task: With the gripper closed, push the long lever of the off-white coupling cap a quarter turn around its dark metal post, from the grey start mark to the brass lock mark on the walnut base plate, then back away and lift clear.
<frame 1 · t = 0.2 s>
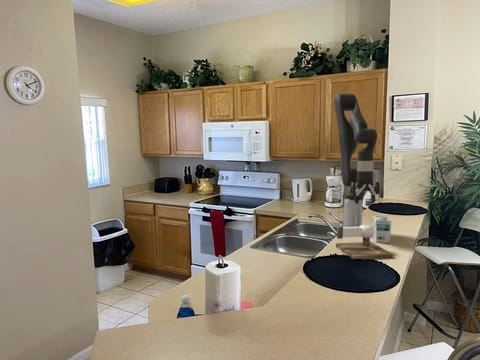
hand: (364, 203, 170), 18 cm above the worktop, tool pointing down, fingers open, 8 cm apart
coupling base: (362, 251, 151), on the worktop
light bulb box: (380, 240, 169), on the worktop
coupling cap: (355, 231, 154), point 8 cm above the worktop, hinge at 0.0°
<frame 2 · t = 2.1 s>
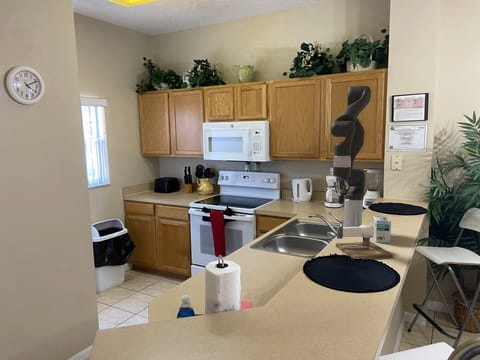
hand: (341, 203, 158), 20 cm above the worktop, tool pointing down, fingers closed
nothing on the worktop moved.
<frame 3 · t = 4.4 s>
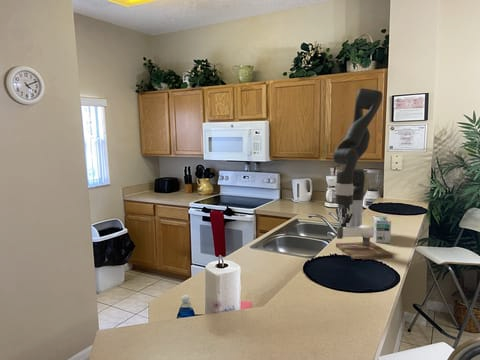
hand: (343, 231, 156), 8 cm above the worktop, tool pointing down, fingers closed
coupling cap: (355, 231, 154), point 8 cm above the worktop, hinge at 0.3°, touching gripper
everything else where it was.
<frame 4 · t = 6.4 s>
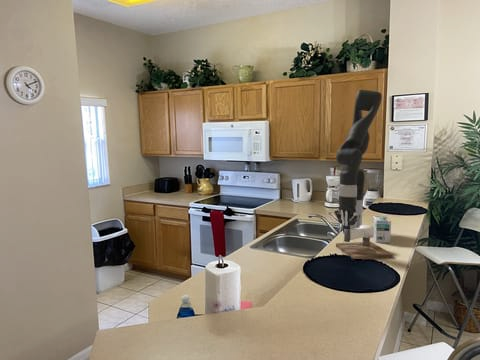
hand: (346, 233, 152), 8 cm above the worktop, tool pointing down, fingers closed
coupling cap: (358, 233, 152), point 8 cm above the worktop, hinge at 24.0°, touching gripper
everything else where it was.
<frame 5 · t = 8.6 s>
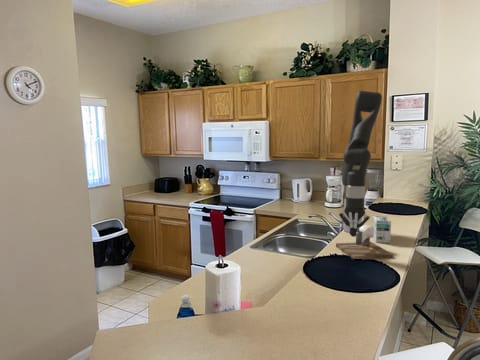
hand: (353, 236, 148), 8 cm above the worktop, tool pointing down, fingers closed
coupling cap: (363, 234, 150), point 8 cm above the worktop, hinge at 48.9°, touching gripper
everything else where it was.
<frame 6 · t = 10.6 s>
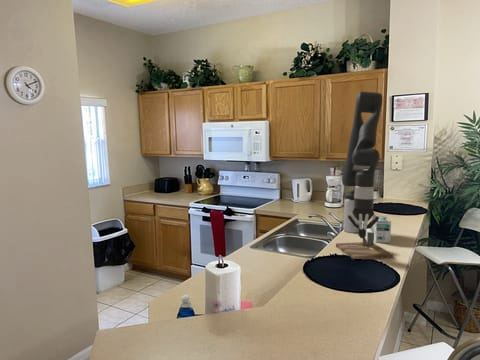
hand: (362, 237, 146), 8 cm above the worktop, tool pointing down, fingers closed
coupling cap: (368, 234, 149), point 8 cm above the worktop, hinge at 69.9°, touching gripper
everything else where it was.
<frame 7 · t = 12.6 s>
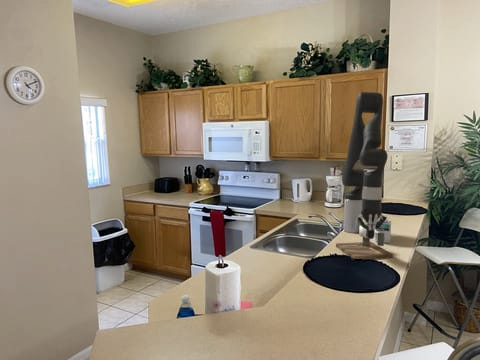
hand: (370, 238, 145), 8 cm above the worktop, tool pointing down, fingers closed
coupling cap: (372, 234, 149), point 8 cm above the worktop, hinge at 88.7°
everything else where it was.
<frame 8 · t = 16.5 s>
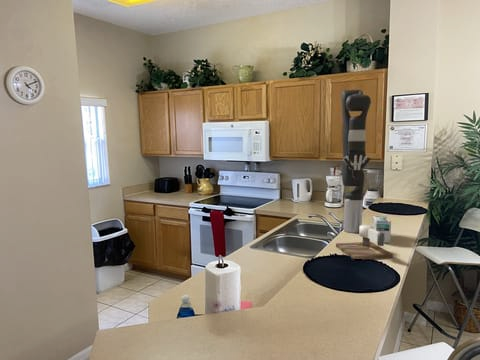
hand: (355, 178, 159), 31 cm above the worktop, tool pointing down, fingers closed
nothing on the worktop moved.
at the end: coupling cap at +89° (first picture: +0°); light bulb box moved 0.3 cm from its start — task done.
